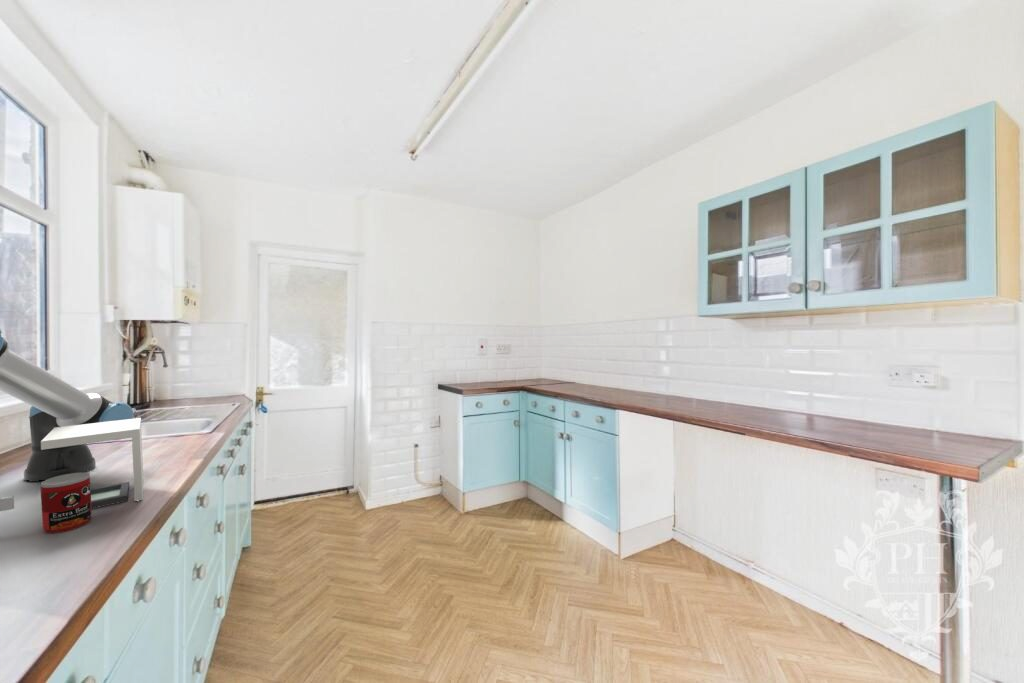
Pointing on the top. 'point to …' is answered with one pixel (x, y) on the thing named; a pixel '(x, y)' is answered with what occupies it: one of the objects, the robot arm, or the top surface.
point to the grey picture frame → (109, 494)
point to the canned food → (66, 502)
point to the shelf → (100, 434)
